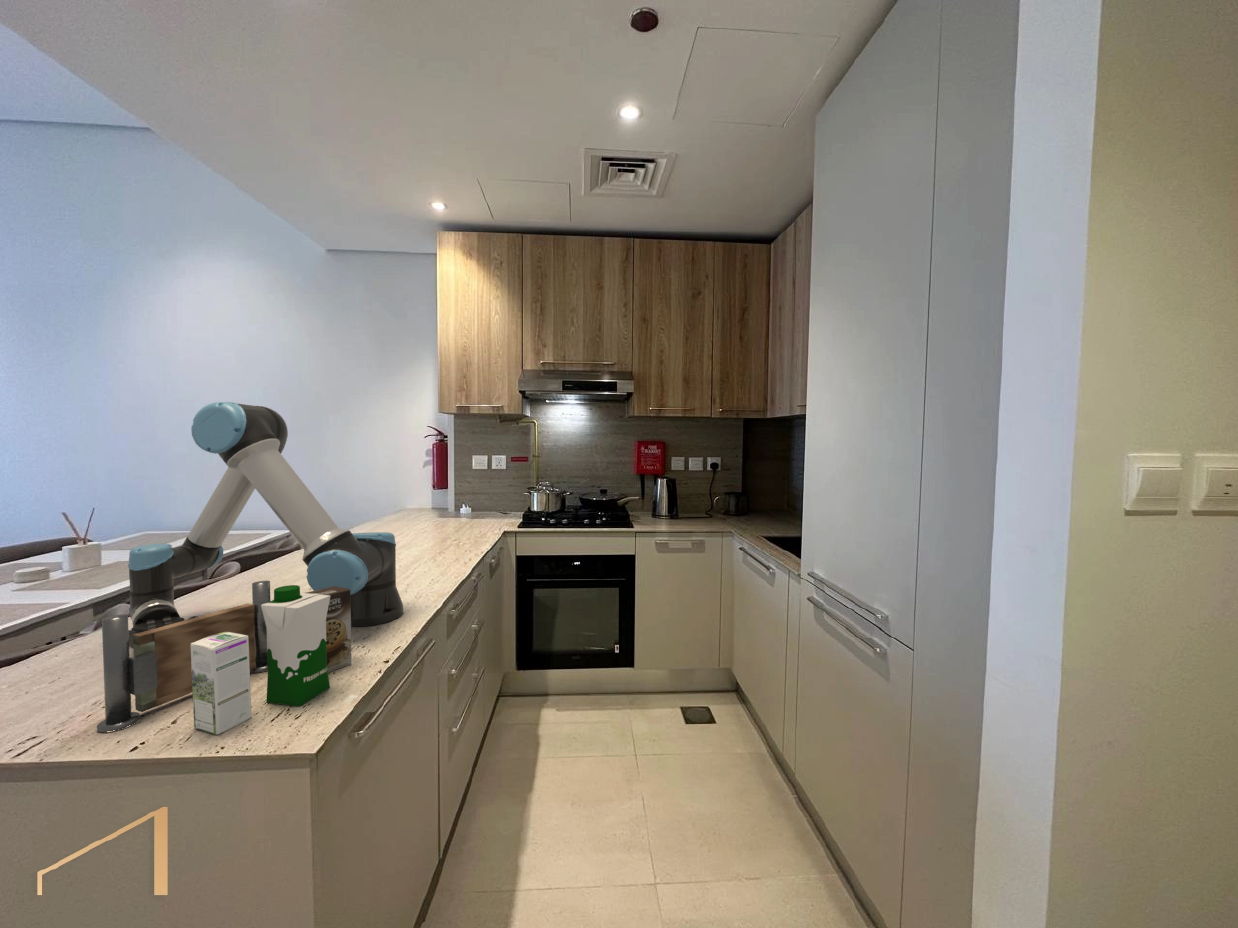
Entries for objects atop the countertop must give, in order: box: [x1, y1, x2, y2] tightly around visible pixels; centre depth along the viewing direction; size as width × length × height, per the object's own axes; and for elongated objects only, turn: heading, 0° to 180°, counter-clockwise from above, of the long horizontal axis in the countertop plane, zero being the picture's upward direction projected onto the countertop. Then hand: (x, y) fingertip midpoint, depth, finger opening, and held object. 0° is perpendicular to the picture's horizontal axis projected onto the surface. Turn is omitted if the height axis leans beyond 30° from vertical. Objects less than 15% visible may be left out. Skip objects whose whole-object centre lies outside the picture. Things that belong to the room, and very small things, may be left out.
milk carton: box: [261, 584, 331, 707], centre depth 90 cm, size 9×9×20 cm
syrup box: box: [191, 632, 253, 736], centre depth 81 cm, size 6×6×14 cm
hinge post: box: [250, 580, 271, 674], centre depth 101 cm, size 5×5×18 cm
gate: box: [132, 603, 256, 713], centre depth 91 cm, size 18×2×13 cm, turn 157°
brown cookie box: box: [305, 586, 352, 673], centre depth 101 cm, size 9×6×16 cm
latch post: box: [96, 613, 158, 732], centre depth 81 cm, size 6×5×18 cm
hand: (167, 650), depth 93 cm, fingers closed
